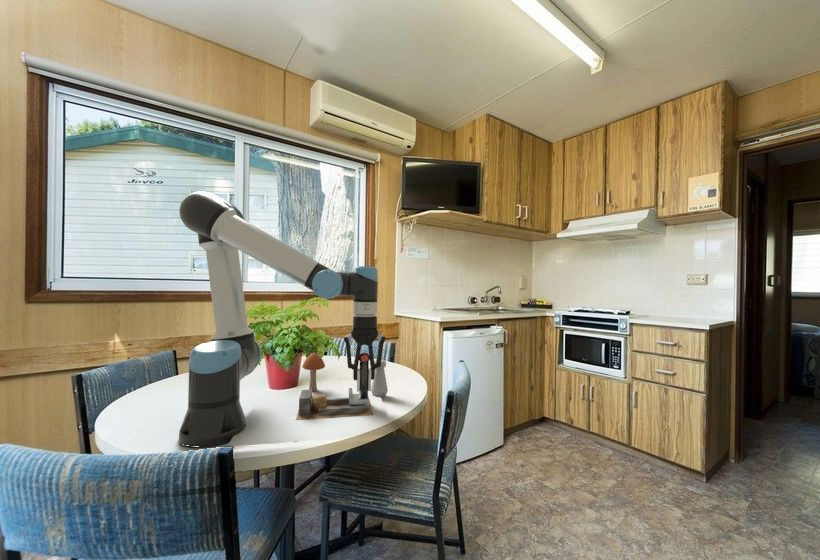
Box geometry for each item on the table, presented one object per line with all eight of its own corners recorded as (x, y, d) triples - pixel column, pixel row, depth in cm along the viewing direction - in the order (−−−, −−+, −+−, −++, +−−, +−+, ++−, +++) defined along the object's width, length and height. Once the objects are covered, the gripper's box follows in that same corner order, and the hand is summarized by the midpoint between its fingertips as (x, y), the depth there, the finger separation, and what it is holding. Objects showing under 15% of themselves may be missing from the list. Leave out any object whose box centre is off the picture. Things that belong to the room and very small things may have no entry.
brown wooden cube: (311, 412, 101) (311, 399, 101) (312, 407, 105) (312, 394, 105) (326, 411, 102) (326, 398, 102) (326, 406, 106) (326, 393, 106)
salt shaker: (384, 400, 116) (385, 362, 116) (368, 399, 117) (369, 361, 117) (389, 395, 122) (389, 358, 122) (374, 393, 123) (374, 357, 123)
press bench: (295, 424, 95) (296, 402, 95) (300, 406, 109) (301, 387, 109) (373, 419, 100) (374, 398, 100) (369, 402, 114) (369, 384, 114)
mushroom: (316, 398, 116) (317, 355, 116) (296, 395, 119) (297, 353, 119) (328, 392, 124) (329, 350, 124) (310, 389, 126) (311, 349, 126)
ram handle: (349, 410, 102) (350, 354, 103) (348, 403, 108) (349, 351, 108) (369, 408, 104) (370, 354, 104) (368, 402, 109) (369, 350, 109)
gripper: (339, 316, 101) (337, 395, 101) (391, 316, 104) (390, 392, 104) (339, 314, 108) (337, 387, 108) (388, 314, 112) (387, 385, 112)
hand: (363, 389), depth 106 cm, fingers closed on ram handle, 3 cm apart
